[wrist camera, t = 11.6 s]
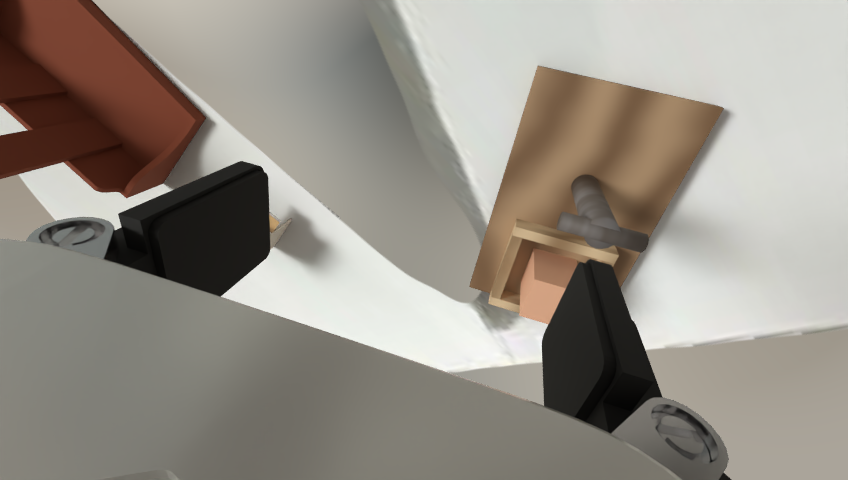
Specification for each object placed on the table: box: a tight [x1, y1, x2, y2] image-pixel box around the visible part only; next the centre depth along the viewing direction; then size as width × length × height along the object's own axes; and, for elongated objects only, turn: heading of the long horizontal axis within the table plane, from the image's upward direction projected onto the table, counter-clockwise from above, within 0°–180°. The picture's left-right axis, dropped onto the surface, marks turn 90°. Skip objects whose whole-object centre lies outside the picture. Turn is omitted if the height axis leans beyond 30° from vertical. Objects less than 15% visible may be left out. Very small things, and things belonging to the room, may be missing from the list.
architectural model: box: [269, 172, 341, 249], centre depth 45 cm, size 3×7×7 cm, turn 141°
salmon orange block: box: [519, 248, 577, 324], centre depth 38 cm, size 4×4×6 cm
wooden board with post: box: [470, 66, 724, 313], centre depth 33 cm, size 15×24×12 cm, turn 169°
